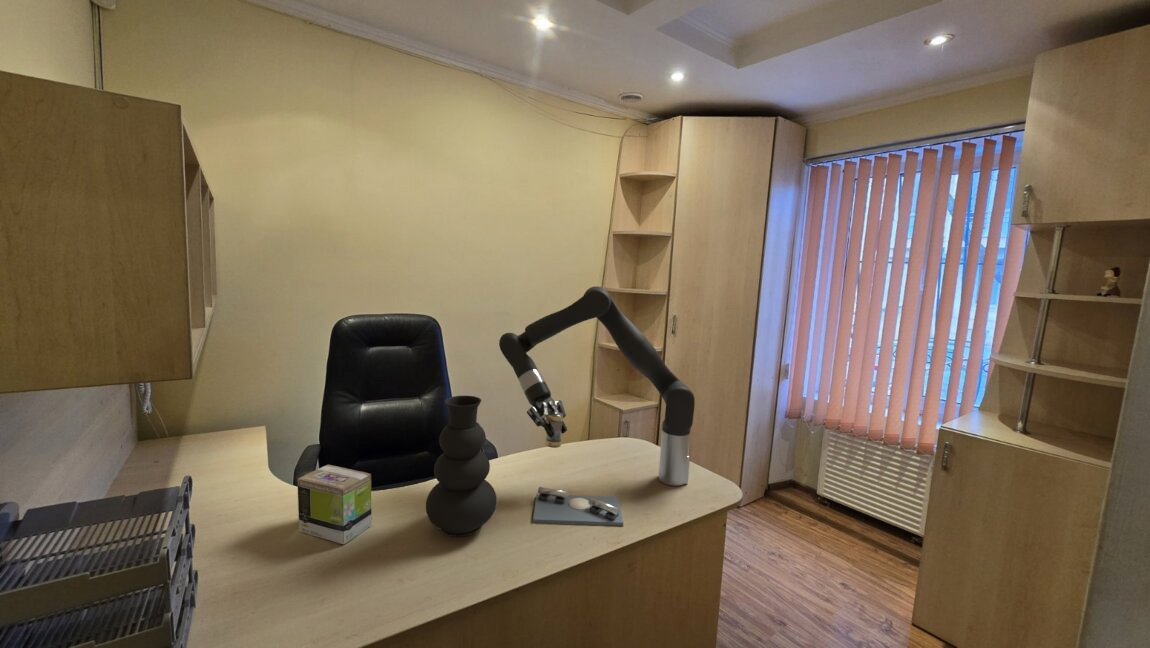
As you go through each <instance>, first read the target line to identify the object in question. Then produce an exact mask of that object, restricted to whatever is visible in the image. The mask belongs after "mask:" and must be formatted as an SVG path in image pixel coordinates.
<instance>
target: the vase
mask: <svg viewBox="0 0 1150 648" xmlns="http://www.w3.org/2000/svg"><path fill="white" fill-rule="evenodd" d="M481 403H482V398H480V397H478V396H474V395H454V396H451V397H448V398H446V399H445V400H444V404H445V406H446V407H447V410H448V423H447V424H446V425H445V426H444V428H443V429H442V430H441V432H440V434H439V437H438V438H439V439H438V441H439V442H438V443H439V446H440V448H441V450H442V451H443V453H442V454H441V455H439V457H437V459H436V461H435V463H434V466H433V467H434V468H433V473H434V477H435V479H436V480H437V481H438V483H436V484H435V485H434V486H433V487H432V489H431V490H430V491H429V493H428V495H427V498H426V500H425V512H426V515H427V517H428V520H429V521H430V522H431V524H433V526H434V527H436V528H437V529H439V530H440V531H441V532H442V534H445V535H447V536H449V537H465V536H469V535H473V534H475V533H476V532H478V531H479V530H481V529H482V527H483V526H484V525H486V523H487V522H488V521H489V520H490V519H491V518H492V516H493V515H494V514H495V511H496V508H497V502H498V501H497V500H498V499H497V493H496V491H495V488H494V487H493V485H492V484H491V483H490V482H488V481H487V480H486V478H487V477H488V476H489V474H490V470H491V469H490V468H491V463H490V461H489V458H488V456H487V455H486V454H485V453H484V452H483V451H482V449H483V448H484V446H485V444H486V441H487V440H486V438H487V437H486V432H485V430H484V428H483V427H482V426H481V425H480V423H479V422H477V420H478V419H477V417H478V408H479V406H480V405H481Z"/></svg>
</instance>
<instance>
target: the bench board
mask: <svg viewBox="0 0 1150 648" xmlns="http://www.w3.org/2000/svg"><path fill="white" fill-rule="evenodd" d="M539 495H540V494H538V493H536V497H535V504H534V511H533V518H532V523H533V524H557V525H559V524H560V525H562V524H563V525H586V526H587V525H588V526H591V525H592V526H615V527H617V526H618V527H623V526H624V519H623V513H622V509H621V503H620V500H619V496H600V495H597V496H596V495H572V494H569V495H568V498H567V499H565V501H564V503H563V504H557V503H555V498H556V497H555V496H549V498H548V499H547V501H540V500H538V497H539ZM590 498H594V499H596V500H599V501H601V502H604V503H607V504H609V505H612V506H615V507H617V508H619V516H618V517H616V518H615V519H614V520H613V521H611V520H608V519H606V518H605V514H606V513H607V511H604V510H602V511H601V512H600V513H598V514H597V515H596V514H593V513H591V512H590V508H591V507H592V506H591V505H589V499H590Z"/></svg>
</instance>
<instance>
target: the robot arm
mask: <svg viewBox="0 0 1150 648" xmlns="http://www.w3.org/2000/svg"><path fill="white" fill-rule="evenodd" d="M595 318H596V319H597V320H598V321H599V322H600V323H601V324H602V325H603V326H604V327H605V328H606V330H607V331H608V332H609V334H610V336H611V337H612V340H613V341H614V343H615V345H616V347H618V349H619V351H620V352H621V353H622V355H623V356H624V357H625V358H626V360H628V362H629V363H630V364H631V365H632V366H633V367H634V368H635V370H638V372H640V373H641V375H643V376H644V377H645V378H647V379H648V380H649V381H650V383H651V384H653V386H654V387H655V388H656V390H657V392H658V393H659V394H660V396H661V397H662V399H663V401H664V403H665V412H664V420H662V425H661V429H662V430H661V438H660V439H661V441H660V453H659V467H658V480H659V481H660V482H661V483H663V484H665V485H669V486H675V487H679V486H683V485H688V483H689V474H690V472H689V471H690V460H691V457H690V455H689V450H690V440H691V439H690V438H691V428H692V426H693V422H694V413H695V403H696V402H695V394H694V393H693V392H692V390H691V389H690V388H689V387H688V386H687V385H686V384H685V383H684V382H683V381H682V380H680V378H678V377H677V376H676V375H675V373H674V372H672V371H671V370H670V368H669V367H668V366H667V365H666V363H665V361H664V360H663V359H662V357H661V355H660V353H659V352H658V351H657V349H656V348H655V347H654V345H653V344H652V343H651V342H650V341H649V339H647V337H646V336H645V335H644V333H642V332H641V331H640V330H639V329H638V327H637V326H636V325H635V324H633V322H631V320H629V319H628V318H627V317H626V316H625V315H624V313H623V312H622V311H621V310H620V308H619V306H618V305H617V304H616V303H615V300H614V298H612V296H611V295H610V293H609V292H608V290H606V289H605V288H604V287H601V286H592V287H589V288H587V290H586V291H585V292H584V293H583V296H582V297H580V298H578V299H577V300H576V301H575V302H573V303H572V304H570V305H568V306H566V307H565V308H563V309H560V310H559V311H555V312H553V313H550V314H548V315H546V316H544V317H541V318H539V319H537V320H535V321H533V322H531V323H530V324H528V325H526V327H525V329H524V332H522V333H521V334H519V335H517V334H515V333H513V332H505V333H503V334H502V335H501V336H500V338H499V342H498V343H499V349H500V351H501V354H502V355H503V357H504V358H505V359H506V361H507V362H508V363H509V365H510V366H511V368H512V369H513V372H514V374H515V376H516V378H517V380H518V382H519V385H520V387H521V389H522V391H523V393H524V395H525V396H526V397H525V398H526V399H527V401H528V404H529V405H531V407H530V408H529V409H528V410H527V411H526V414H527V415H528V417H529V418H530V419H531V420H532V421H533V423H534V425H535V426H536V427H538V428H539V427H542V428H544V431H545V433H546V436H547V435H548V436H549V437H553V436H554V435H555V432H554V430H553V428H552V426H551V424H549V420H548V413H549V412H553V411H556V412H561V413H563V419H565V417H566V416H567V414H566V410H565V407H564V404H563V401H562V400H561V399H560V400H558V401H556V400H554V399H553V398H552V392H551V391H550V388H549V387H548V386H549V385H548V384H547V383H546V381H545V379H544V377H543V375H542V374H541V372H540V371H539V369H538V367H537V365H536V363H535V361H534V360H533V359H532V357H531V356H529V355H528V354H527V353H528V352H530V351H531V350H532V349H533V348H535V347H536V346H537V345H538V344H540V343H543V342H544V341H546V340H548V339H550V338H552V337H555V336H556V335H557V334H559V333H561V332H563V331H565V330H567V329H569V328H572V327H573V326H576V325H577V324H580V323H584V322H586V321H588V320H592V319H595ZM567 431H568V428H567V425H566V424H565V422H564V421H563V422H562V435H563V434H565V433H566V432H567Z"/></svg>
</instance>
